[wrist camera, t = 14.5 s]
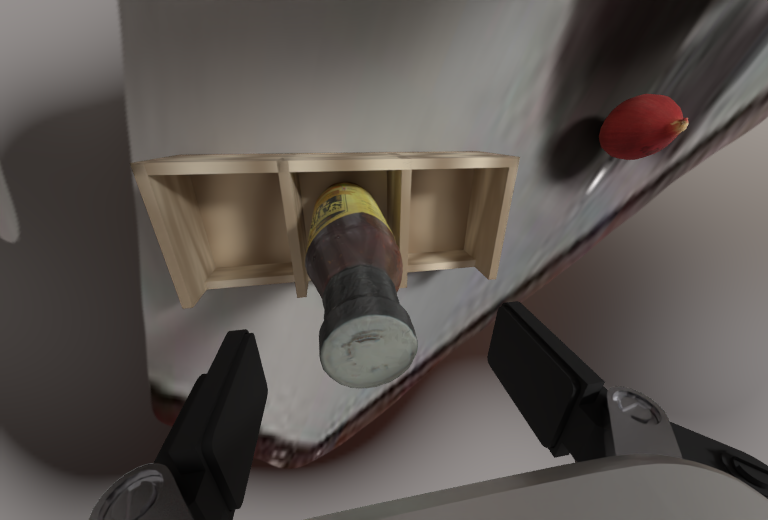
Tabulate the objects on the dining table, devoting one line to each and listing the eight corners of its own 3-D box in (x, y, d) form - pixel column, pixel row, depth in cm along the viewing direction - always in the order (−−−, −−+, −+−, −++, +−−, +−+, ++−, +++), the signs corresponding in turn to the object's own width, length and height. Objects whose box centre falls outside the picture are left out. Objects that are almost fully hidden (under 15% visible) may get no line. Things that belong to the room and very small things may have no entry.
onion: (633, 132, 32) (721, 132, 25) (589, 167, 33) (663, 177, 26) (619, 85, 29) (713, 71, 22) (572, 125, 30) (649, 123, 23)
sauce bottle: (327, 169, 27) (326, 247, 9) (385, 194, 29) (480, 300, 11) (304, 229, 29) (267, 393, 11) (360, 249, 31) (406, 414, 13)
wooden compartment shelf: (479, 151, 29) (519, 157, 23) (465, 251, 34) (495, 279, 28) (179, 154, 25) (129, 163, 18) (213, 271, 30) (182, 308, 23)
